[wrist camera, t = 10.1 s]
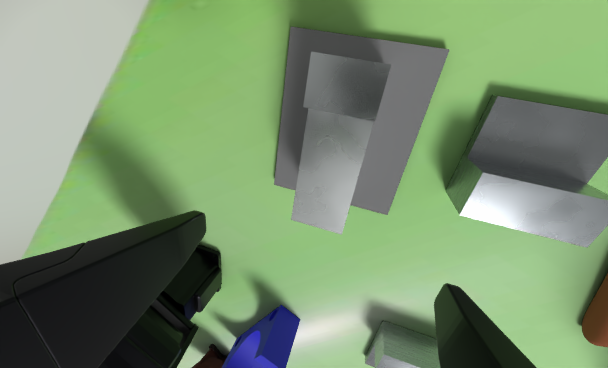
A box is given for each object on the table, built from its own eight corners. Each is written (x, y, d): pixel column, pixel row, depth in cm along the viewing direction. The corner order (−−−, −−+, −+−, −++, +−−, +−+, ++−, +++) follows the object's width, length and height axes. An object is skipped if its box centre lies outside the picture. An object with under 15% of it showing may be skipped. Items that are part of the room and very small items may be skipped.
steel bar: (309, 188, 21) (285, 229, 15) (333, 58, 16) (311, 51, 11) (349, 199, 20) (339, 246, 14) (385, 67, 15) (391, 64, 10)
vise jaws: (365, 356, 29) (364, 390, 26) (492, 95, 15) (522, 100, 12) (425, 379, 27) (432, 417, 24) (623, 117, 14) (694, 130, 11)
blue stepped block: (261, 355, 35) (241, 405, 30) (237, 337, 35) (212, 384, 30) (310, 325, 29) (295, 380, 24) (281, 303, 29) (261, 354, 24)
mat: (276, 181, 22) (274, 184, 21) (293, 28, 16) (290, 26, 16) (387, 211, 20) (387, 214, 20) (446, 50, 15) (449, 49, 14)
